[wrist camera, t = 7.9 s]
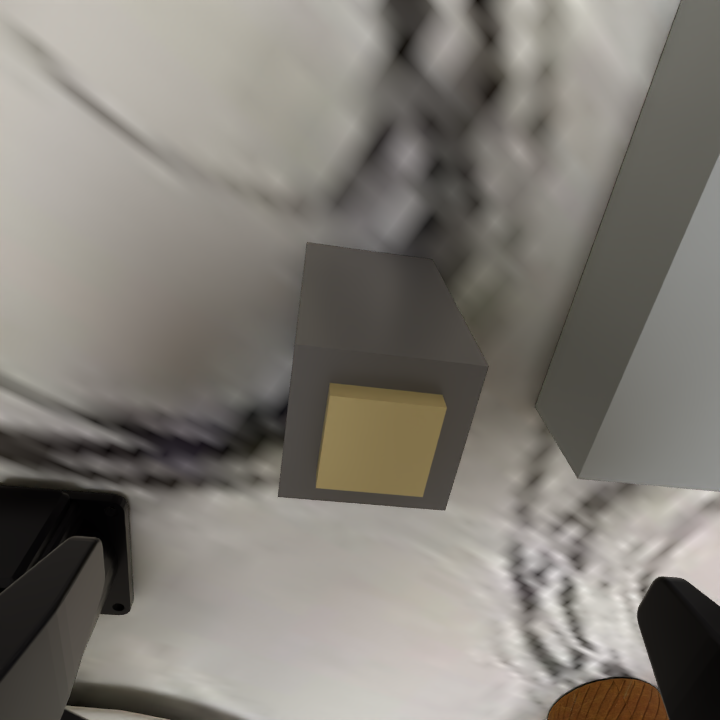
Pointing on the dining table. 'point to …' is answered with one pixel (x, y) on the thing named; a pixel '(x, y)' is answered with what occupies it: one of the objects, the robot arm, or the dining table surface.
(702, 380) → the socket
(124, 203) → the dining table surface
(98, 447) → the dining table surface
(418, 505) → the grey rectangular block
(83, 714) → the plated food
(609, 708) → the disposable coffee cup
